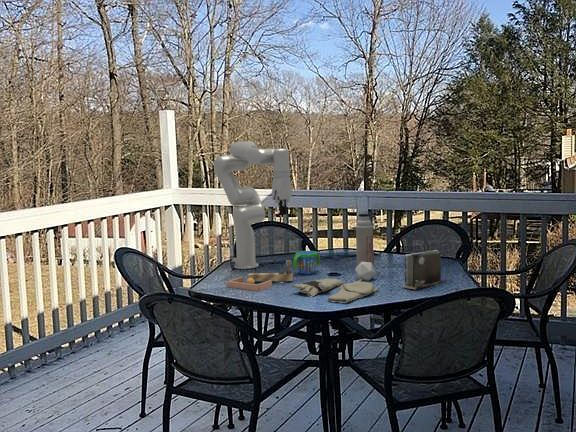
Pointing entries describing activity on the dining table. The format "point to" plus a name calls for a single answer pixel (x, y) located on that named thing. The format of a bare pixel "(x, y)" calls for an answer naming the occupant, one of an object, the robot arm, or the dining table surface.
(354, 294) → the pair of gloves
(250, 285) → the open frame
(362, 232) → the thermos bottle
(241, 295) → the dining table surface
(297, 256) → the snack cup
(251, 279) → the ball
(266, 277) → the lever
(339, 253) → the dining table surface
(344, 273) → the dining table surface
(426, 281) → the radio
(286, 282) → the pivot base
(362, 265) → the die
